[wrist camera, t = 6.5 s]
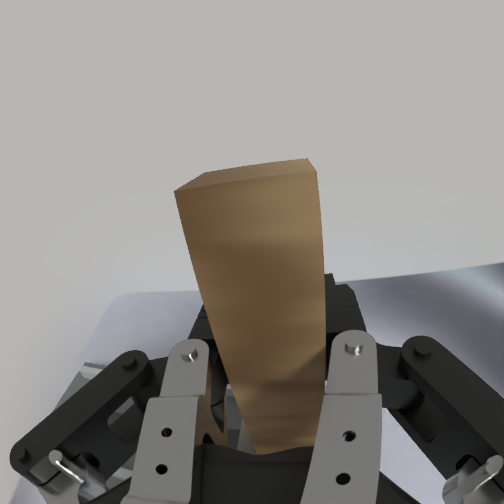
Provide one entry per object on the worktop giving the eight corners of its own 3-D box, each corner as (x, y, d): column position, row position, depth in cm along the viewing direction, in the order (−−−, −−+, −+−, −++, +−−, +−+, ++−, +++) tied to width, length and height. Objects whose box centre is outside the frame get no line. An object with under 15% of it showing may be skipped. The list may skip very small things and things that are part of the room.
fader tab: (335, 393, 14) (332, 150, 9) (342, 486, 9) (397, 186, 4) (249, 397, 15) (191, 169, 10) (234, 488, 10) (89, 227, 4)
